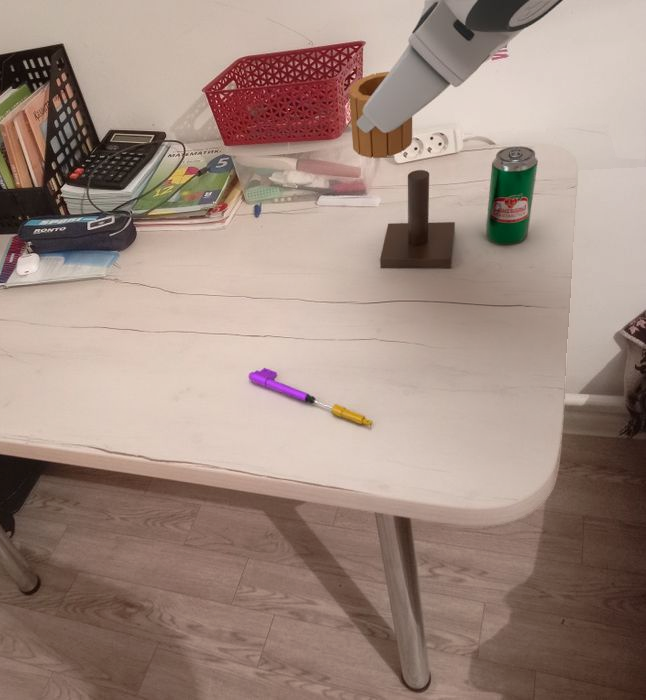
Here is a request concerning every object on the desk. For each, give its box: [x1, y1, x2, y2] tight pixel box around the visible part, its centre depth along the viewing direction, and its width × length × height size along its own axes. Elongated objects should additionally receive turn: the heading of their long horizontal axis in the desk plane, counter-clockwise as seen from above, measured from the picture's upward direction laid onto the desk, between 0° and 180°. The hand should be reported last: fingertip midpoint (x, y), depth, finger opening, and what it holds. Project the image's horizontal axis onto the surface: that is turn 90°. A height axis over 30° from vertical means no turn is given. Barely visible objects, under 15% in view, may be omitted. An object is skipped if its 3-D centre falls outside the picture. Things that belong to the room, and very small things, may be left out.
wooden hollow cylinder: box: [348, 71, 413, 159], centre depth 71 cm, size 7×7×7 cm
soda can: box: [485, 145, 539, 245], centre depth 80 cm, size 5×5×12 cm
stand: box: [379, 169, 456, 269], centre depth 83 cm, size 9×9×12 cm
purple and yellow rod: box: [248, 367, 373, 427], centre depth 71 cm, size 3×1×16 cm
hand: (376, 107), depth 71 cm, fingers closed on wooden hollow cylinder, 7 cm apart
